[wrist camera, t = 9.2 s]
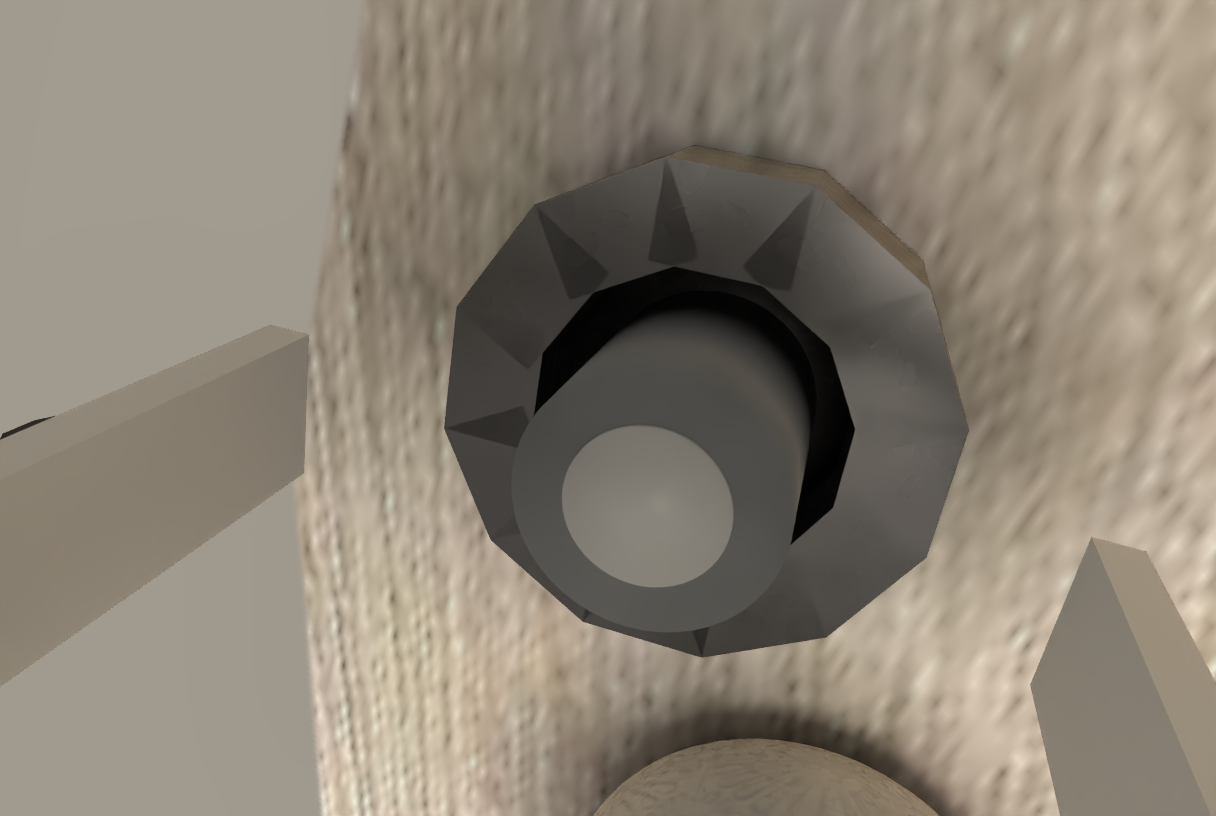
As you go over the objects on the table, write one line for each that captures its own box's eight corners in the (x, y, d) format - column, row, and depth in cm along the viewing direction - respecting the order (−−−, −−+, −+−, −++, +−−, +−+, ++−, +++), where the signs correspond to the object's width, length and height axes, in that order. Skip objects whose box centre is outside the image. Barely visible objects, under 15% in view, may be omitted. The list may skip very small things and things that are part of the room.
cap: (620, 269, 21) (526, 338, 15) (840, 318, 20) (825, 411, 15) (587, 466, 23) (493, 592, 17) (788, 519, 22) (757, 671, 16)
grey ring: (528, 112, 21) (475, 118, 18) (1013, 207, 19) (1036, 229, 16) (478, 519, 25) (428, 575, 22) (875, 633, 23) (875, 709, 20)
